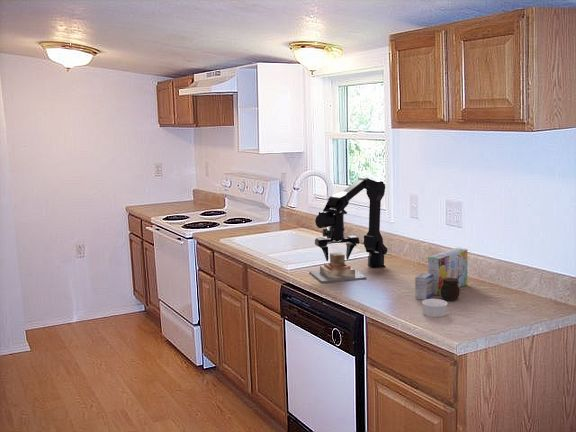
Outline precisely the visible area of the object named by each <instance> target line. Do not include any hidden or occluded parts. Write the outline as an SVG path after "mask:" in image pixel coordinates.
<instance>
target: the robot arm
mask: <svg viewBox="0 0 576 432" xmlns="http://www.w3.org/2000/svg"><path fill="white" fill-rule="evenodd" d="M364 189H365V192H366V196H367V198H368V200H369V208H368V209H369V210H368V211H369V212H368V213H369V214H368V232H367V233H366V234H363V245H364V248H365V252H366V253H368V256H367V266H368V267H370V268H373V269H374V268H375V269H376V268H385V267H386V265H385V255H386V254H387V253H388V249H389V248H387V246H386V245H385V244H384V238H383V236H382V233H381V232H380V229H381V205H382V203H381V201H382V199H383V198H384V196H385V193H386V191H385V190H386V184H385V183H384V182H383V181H381V180H374V179H370V178H369V177H365V176H364V177H362V176H360V177H358V178H357V180H356V181H354V182H353V183H352V184H350V185H349V186H348V187H346V188H345V189H343V190H342V191H341V192H337V193H334V194H333V195H330V196H329V197H328V198H327V201H326V204H325V206H324V208H323V210H322V211H319V212H318V214H317V215H316V217H315V219H314V222H315V225H316V227H317V228H319V229H322V228H323V229H322V237H316V238H315V239H314V245H315V246H317V247H319V248H320V249H321V250H322V252H323V254H324V258H325V261H326V262H329V246H327V245H328V244H330V245H331V244H343V243H345V245H346V253H345V254H346V255H345V257H346V260H349V258H350V256H351V253H352V252H353V249H354V248H355V247H356V246H357V244H358V245H359V244H360V238H359V236H357V235H355V234H354V235H347V236H346V237H345V235H344V234H345V233H344V231H345V227H344V225H345V224H344V223H345V222H344V221H345V219H344V216H345V215H347V214H348V212H347V211H346V210H345V209H346V208H347V206H348V205H349V203H350V200H352V199H353V198H354V197H355V196H357V195H358V194H359V193H360V192H362V191H363V190H364ZM328 228H329V229H328ZM325 237H326V238H325Z"/></svg>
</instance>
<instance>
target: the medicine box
mask: <svg viewBox="0 0 576 432" xmlns="http://www.w3.org/2000/svg"><path fill="white" fill-rule="evenodd" d="M414 279H415V281H414V292H415V294H414V298H415V299H416V300H422V301H423V300H426V299H430V298H431V297H432V296H433V295H434V294H433V274H430V273H428V272H422V273H420V274H419V275H417V276H415V277H414Z"/></svg>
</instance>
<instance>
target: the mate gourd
mask: <svg viewBox="0 0 576 432" xmlns="http://www.w3.org/2000/svg"><path fill="white" fill-rule="evenodd" d="M461 275H462V274H460V276H461ZM460 276H458V277H457V278H451V277H447V278H444V279H443V285H442V287H441V290H440V292H441V295H440V296H441V298H442V300H444V301H446V302H448V301H449V302H455V301H457V299H459V297H460V294H461V290H460V288H459V287H458V278H459V277H460Z"/></svg>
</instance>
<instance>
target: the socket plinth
mask: <svg viewBox="0 0 576 432" xmlns="http://www.w3.org/2000/svg"><path fill="white" fill-rule="evenodd" d="M319 270H320V272H321V273H322V274H323V275H325V276H326V277H327V278H328V279H330V278H342V277H353V276H355V270H356V269H355V268H354V267H352V266H351V265H349V264H348V263H346V262H345V266H341V267H331V266H330V262H326V263H324V264H323V265H322V264H320V265H319Z"/></svg>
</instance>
